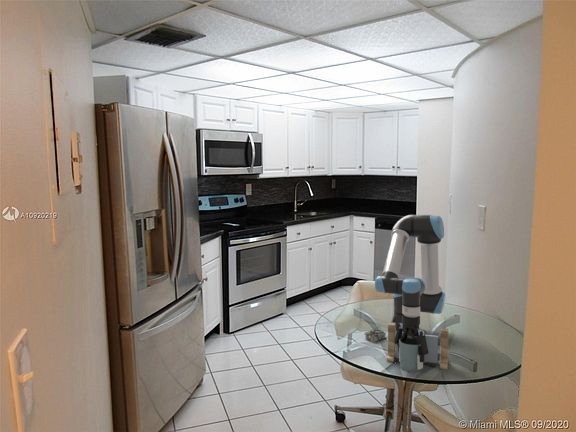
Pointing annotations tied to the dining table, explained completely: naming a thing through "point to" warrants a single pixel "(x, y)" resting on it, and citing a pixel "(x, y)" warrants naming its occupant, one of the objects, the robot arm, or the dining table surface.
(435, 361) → the door
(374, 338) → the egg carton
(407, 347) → the grey blue cup
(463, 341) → the dining table surface
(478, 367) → the dining table surface
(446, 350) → the door frame
